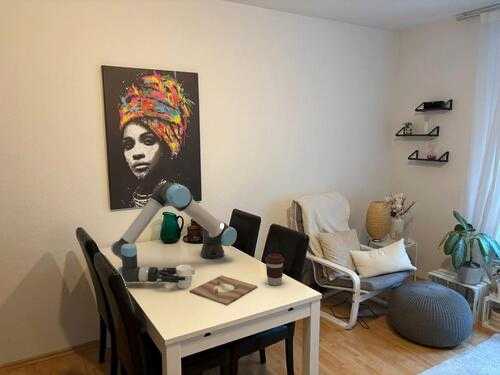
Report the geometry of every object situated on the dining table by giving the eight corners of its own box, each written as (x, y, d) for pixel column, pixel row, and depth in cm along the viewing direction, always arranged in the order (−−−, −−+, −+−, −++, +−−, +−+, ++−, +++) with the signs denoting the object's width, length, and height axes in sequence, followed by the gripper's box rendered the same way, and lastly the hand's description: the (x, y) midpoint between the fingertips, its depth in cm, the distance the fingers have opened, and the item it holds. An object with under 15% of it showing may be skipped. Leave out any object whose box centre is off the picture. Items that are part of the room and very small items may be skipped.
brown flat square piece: (221, 277, 203) (221, 271, 203) (257, 287, 189) (257, 282, 189) (189, 292, 184) (189, 286, 184) (227, 305, 170) (227, 299, 170)
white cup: (179, 290, 187) (178, 271, 185) (174, 284, 194) (173, 266, 192) (194, 287, 190) (193, 268, 189) (189, 281, 197) (188, 263, 196)
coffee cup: (286, 280, 198) (286, 253, 196) (281, 288, 189) (281, 259, 186) (268, 278, 201) (268, 251, 199) (262, 285, 192) (262, 257, 190)
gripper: (154, 273, 202) (196, 274, 202) (143, 289, 182) (190, 290, 182) (154, 260, 201) (196, 260, 201) (142, 275, 181) (189, 275, 180)
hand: (193, 274), depth 191 cm, fingers closed on white cup, 8 cm apart
